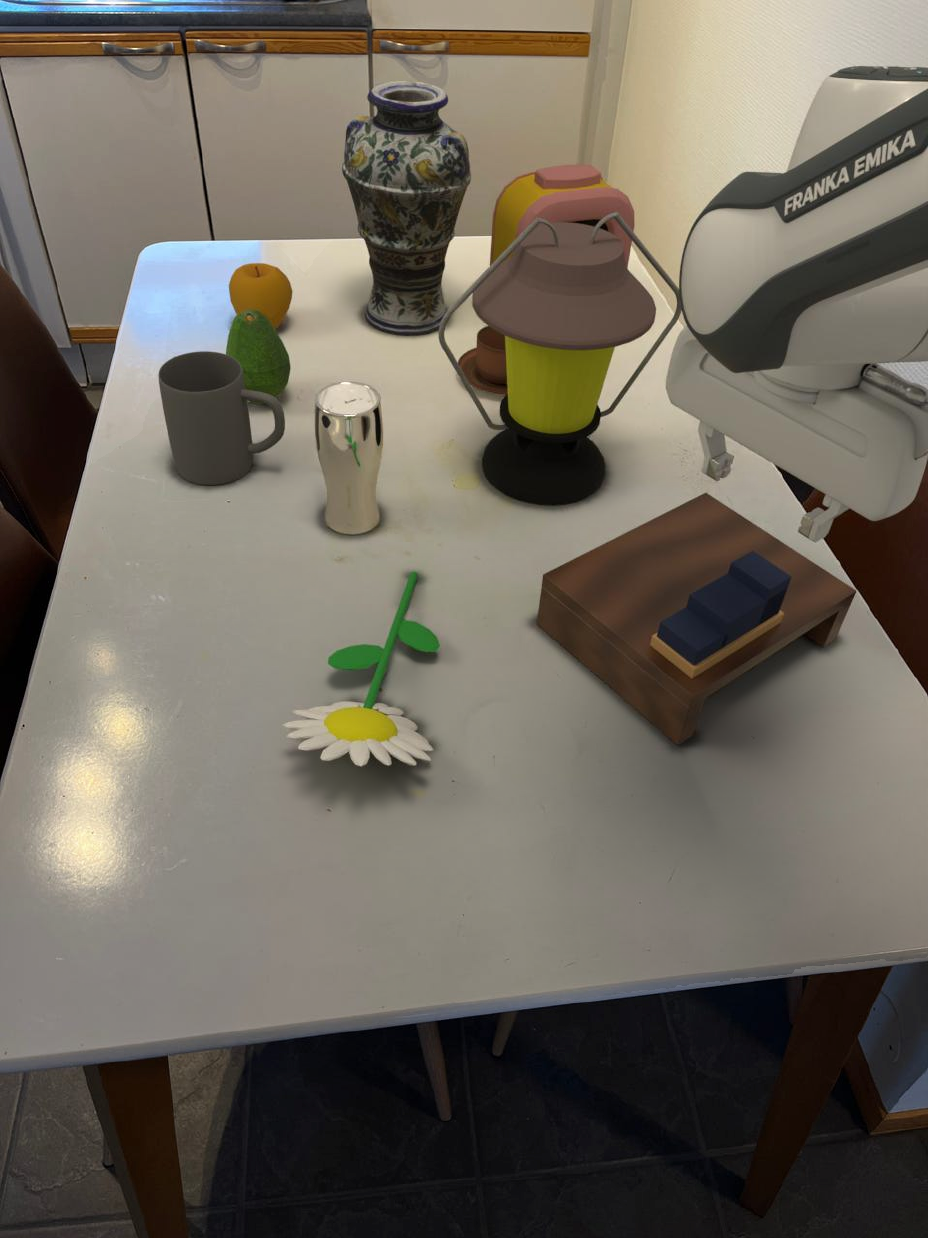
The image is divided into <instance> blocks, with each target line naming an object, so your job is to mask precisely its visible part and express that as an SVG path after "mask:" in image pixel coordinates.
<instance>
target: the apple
mask: <svg viewBox="0 0 928 1238" xmlns="http://www.w3.org/2000/svg"><path fill="white" fill-rule="evenodd" d="M228 291H229V292H228V294H229V299H230V303H231V305H232V307H233V310H234V313H235V315H237V314H239V313H241V312H244V311H246V310H257V311H259V312H261V313H262V314H263V315H264V316H266V317H267V318H268V319H269V321H270V323H271V324H272V326H273V327H274V329H275V330H277V329H278V328H279V327H280V326H281V325H282V324H283V322H284V320H285V318H286V316H287V314H288V311H289V309H290V306H291V303H292V299H293V287H292V283H291V281H290V280H289V278H288V276H287V275H286V274H285V273H284V272H283V271H282V270H281V269H280V268H279V267H277V266H274V265H271V264H269V263H262V262H255V263H254V262H252V263H246V264H242V265H241V266H239V267H237V268H236V269H235V270H234V271H233V273H232V275H231V277H230V280H229V283H228Z"/></svg>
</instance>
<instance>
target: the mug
mask: <svg viewBox="0 0 928 1238" xmlns="http://www.w3.org/2000/svg"><path fill="white" fill-rule="evenodd" d="M157 377H158V387H159V393H160V398H161V404H162V409H163V415H164V419H165V421H164V422H165V425H166V431H167V436H168V440H169V445H170V450H171V455H172V460H173V463H174V466H175V469H176V471H177V473H178V474H179V476H181V477H182V478H183V479H184V480H186V481H187V482H190V483H194V484H198V485H203V486H217V485H218V486H219V485H223V484H228V483H232V482H235V481H236V480H238V479H241V478H242V477H244V476H245V475H246V474H248V472H249V471H250V470H251V468H252V466H253V463H254V455H255V454H260V453H263V452H267V451H268V450H269V449H271V448H273V447H274V446H275V445H276V444H278V443H279V441H280V440H282V438H283V436H284V435H285V431H286V417H285V412H284V409H283V405H282V404H281V402H280V400H279V399H278V398H275V397H274V396H272V395H269V394H266V393H263V392H258V391H252V390H246V387H245V381H244V375H243V370H242V367H241V365H240V363H239V362H238V361H237V360H236V359H234V358H233V357H231V356H229V355H226V353H222V352H216V351H209V350H208V351H205V350H204V351H202V350H201V351H192V352H185V353H183V354H180V355H179V354H178V355H177V356H174V357H172V358H170V359H169V360H167V361H165V362H164V363H163V364H162V365H161V366H160V368H159V370H158V375H157ZM247 400H254V401H260V402H264V403H263V404H267V405H268V406H269V408H270V409H271V410H272V413H273V419H274V429H273V431H272V432H271V433H270V434H269V435H268V436H267V437H266V438H265V439H263V440H261V441H259V442H254V443H253V436H252V427H251V419H250V410H249V401H247Z"/></svg>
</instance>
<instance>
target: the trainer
mask: <svg viewBox="0 0 928 1238" xmlns="http://www.w3.org/2000/svg"><path fill="white" fill-rule="evenodd" d="M791 578H792V577H791V576H790V575H788V574H787V573H785V572H784V571H782V570H781V569H780V568H778V567H777V566H775V565H774V564H772V563H771V562H769V561H768V560H766V559H765V558H763V557H762V556H760V555H759V554H757V553H756V552H754V551H751V552H749V553H747V554H746V555H744V556H742V557H740V558H739V559H737V560H735V561H733V562H732V563H731V565H730V568H729V571H728V573H727V574H725V575H723V576H722V577H720V578H718V579H716V580H715V581H713V582H711V583H709V584H708V585H706V586H704V587H702V588H701V589H699V590H697V591H695V592H694V593H692V594H690V595H689V599H688V602H687V606H686V607H685V608H684V609H682V610H680V611H678V612H677V613H675V614H673V615H671V616H670V617H668V618H666V619H665V620H663V621H661V622H660V625H659V629H658V633H656V634H654V635H653V636H652V639H651V643H650V646H652V647H653V648H654V649H655V650H657V651H658V652H659V653H660V654H662V655H663V656H664V657H665V658H667V659H668V660H669V661H670V662H672V663H673V664H674V665H675V666H677V667H678V668H679V669H680V670H682V671H683V672H684V673H685V674H687V675H688V676H689V677H690V678H692V679H693V678H694V677H696V676H697V675H699V674H700V673H702V672H704V671H705V670H707V669H708V668H710V667H711V666H713V665H715V664H716V663H718V662H719V661H721V660H723V659H724V658H726V657H727V656H729V655H730V654H732V653H734V652H735V651H737V650H738V649H740V648H741V647H743V646H745V645H746V644H748V643H749V642H751V641H753V640H754V639H756V638H757V637H759V636H760V635H762V634H764V633H765V632H767V631H768V630H770V629H772V628H773V627H775V626H776V625H778V624H779V623H781V621H782V618H783V616H784V613H783V612H782V611H781V610H780V608H781V605H782V602H783V600H784V597H785V594H786V592H787V589H788V586H789V583H790V580H791Z"/></svg>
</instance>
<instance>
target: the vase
mask: <svg viewBox="0 0 928 1238" xmlns="http://www.w3.org/2000/svg"><path fill="white" fill-rule="evenodd" d="M366 98H367V102H368V103H369V104H371V106H373V107H376V111H377V112H376V115H374V116H368V115H367V116H366V115H358V116H356V117H354V118H353V119H351V121H350V122H349V123H348V124H347V126H346V130H345V142H344V152H343V162H342V165H341V172H342V175H343V177H344V179H345V180H346V183H347V186H348V189H349V193H350V196H351V199H352V203H353V205H354V210H355V214H356V220H357V222H358V223H357V231H358V232H357V233H358V234H359V236H360V237H361V238H362V239H363V240H364V243H365V246H366V248H367V252H368V256H369V259H368V262H369V263H368V264H369V268H370V271H371V273H372V279H373V280H372V288H371V292H370V295H369V299H368V303H367V306H366V309H365V312H364V319H365V321H366V323H367V324H368V325H369V326H370V327H372V328H373V329H376V330H378V331H381V332H383V333H386V334H389V335H390V334H391V335H397V336H408V337H409V336H423V335H427V334H431V333H434V332H437V331H439V326H440V323H441V320H442V318H443V316H444V314H445V313H446V312H447V308H446V302H445V298H444V292H443V285H442V282H443V277H444V276H443V275H444V271H445V268H446V257H447V252H448V249H449V246H450V243H451V242H452V241H453V239H454V237H455V234H456V230H455V228H456V224H457V220H458V217H459V213H460V209H461V207H462V204H463V201H464V197H465V195H466V193H467V190H468V187H469V185H470V183H471V181H472V171H471V163H470V152H469V151H470V150H469V146H468V141H467V140H466V138H465V136H464V135H463V134H462V133H461V132H460V131H456V129H455V130H454V129H453V128H452V127H450V125H448V124H447V123H446V122H445V121H444V120H442V119H441V117H440V115H439V112H440V110H441V109H443V108H444V107H446V106H447V105H448V103H449V96H448V95H447V93H446V91H445V90H444V89H442V88H441V87H439V86H436V85H434V84H431V83H427V82H422V81H413V80H395V81H394V80H393V81H386V82H382V83H378V84H376V85H375V86H373V87H372V88H371V89H370V90H369V92H368V93H367V97H366Z"/></svg>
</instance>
